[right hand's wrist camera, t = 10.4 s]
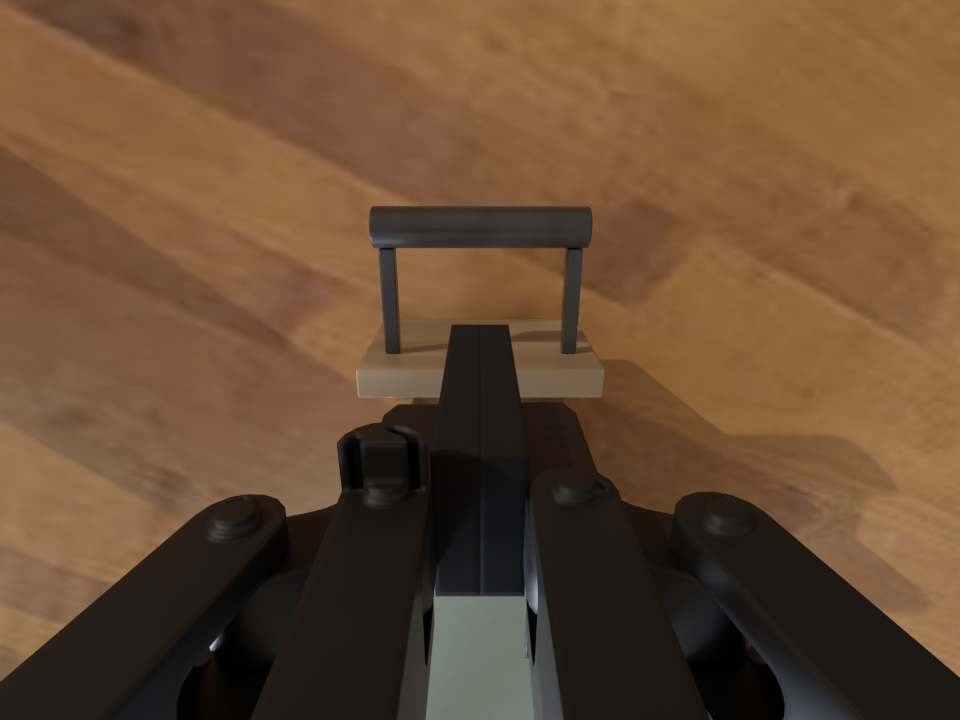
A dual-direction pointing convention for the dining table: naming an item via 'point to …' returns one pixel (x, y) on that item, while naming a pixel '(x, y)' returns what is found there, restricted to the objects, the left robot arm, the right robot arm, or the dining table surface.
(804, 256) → the dining table surface
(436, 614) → the cabinet
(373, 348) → the drawer
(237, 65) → the dining table surface
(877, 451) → the dining table surface
